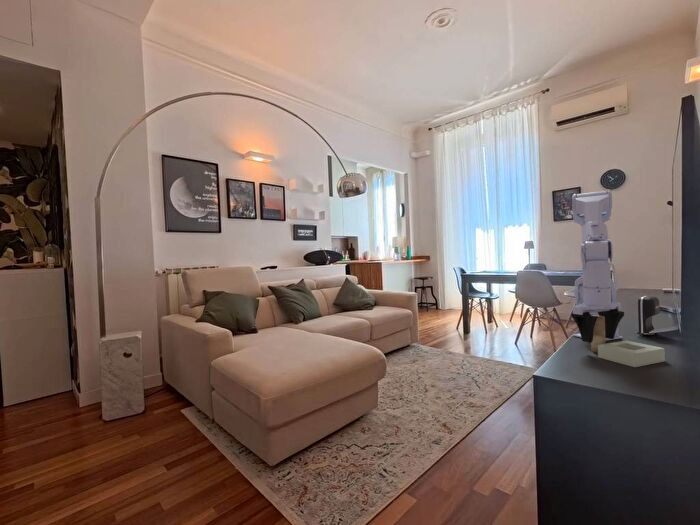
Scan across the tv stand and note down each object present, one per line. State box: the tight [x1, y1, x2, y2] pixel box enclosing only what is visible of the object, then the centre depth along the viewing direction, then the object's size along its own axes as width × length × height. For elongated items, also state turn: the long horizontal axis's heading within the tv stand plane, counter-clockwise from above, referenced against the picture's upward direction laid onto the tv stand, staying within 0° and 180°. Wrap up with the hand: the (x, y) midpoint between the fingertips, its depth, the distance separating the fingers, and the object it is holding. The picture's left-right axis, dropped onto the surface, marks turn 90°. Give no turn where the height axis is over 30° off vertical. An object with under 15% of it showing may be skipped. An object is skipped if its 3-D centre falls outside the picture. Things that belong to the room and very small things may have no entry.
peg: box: [590, 315, 606, 353], centre depth 86 cm, size 3×3×9 cm
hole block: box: [597, 340, 666, 368], centre depth 79 cm, size 10×8×3 cm
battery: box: [637, 295, 661, 335], centre depth 100 cm, size 7×4×11 cm, turn 126°
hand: (598, 339), depth 86 cm, fingers open, 7 cm apart
